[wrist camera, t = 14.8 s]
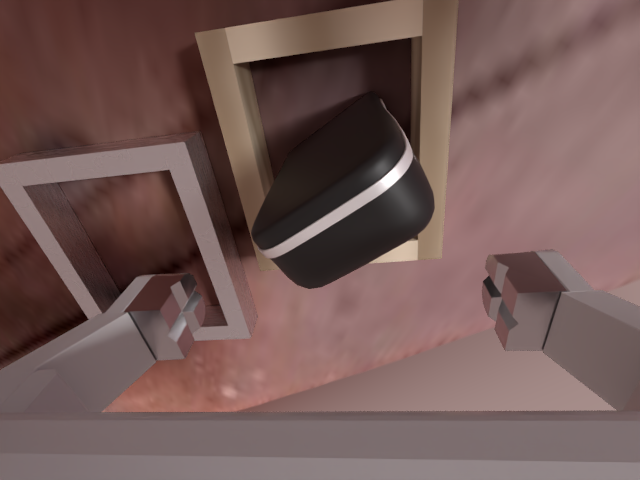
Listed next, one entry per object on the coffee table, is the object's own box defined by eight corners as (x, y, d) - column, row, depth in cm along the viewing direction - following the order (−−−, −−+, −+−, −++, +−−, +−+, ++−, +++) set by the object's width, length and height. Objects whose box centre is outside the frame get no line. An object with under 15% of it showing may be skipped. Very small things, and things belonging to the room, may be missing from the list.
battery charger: (318, 199, 23) (299, 318, 14) (283, 155, 22) (233, 253, 12) (409, 139, 21) (464, 233, 11) (376, 85, 19) (406, 138, 10)
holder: (200, 130, 21) (184, 141, 19) (257, 316, 30) (250, 338, 27) (20, 153, 23) (-14, 165, 21) (121, 323, 31) (105, 344, 29)
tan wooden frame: (442, -4, 17) (459, -11, 14) (431, 234, 24) (441, 258, 22) (215, 32, 18) (194, 32, 16) (268, 247, 26) (260, 270, 23)
